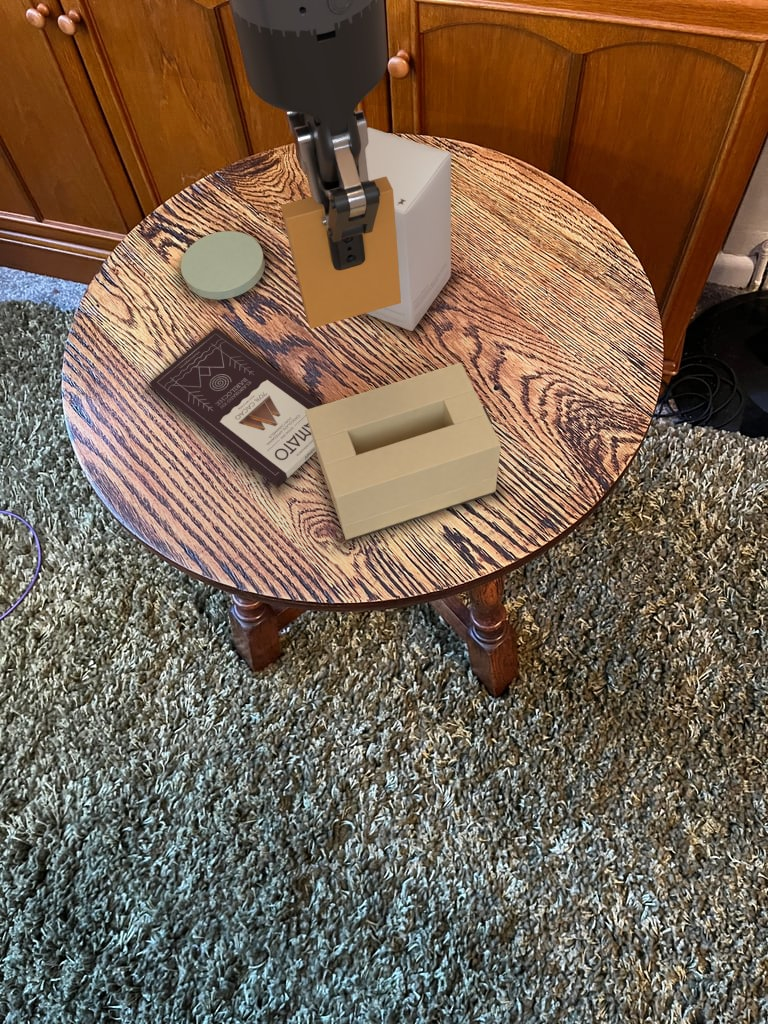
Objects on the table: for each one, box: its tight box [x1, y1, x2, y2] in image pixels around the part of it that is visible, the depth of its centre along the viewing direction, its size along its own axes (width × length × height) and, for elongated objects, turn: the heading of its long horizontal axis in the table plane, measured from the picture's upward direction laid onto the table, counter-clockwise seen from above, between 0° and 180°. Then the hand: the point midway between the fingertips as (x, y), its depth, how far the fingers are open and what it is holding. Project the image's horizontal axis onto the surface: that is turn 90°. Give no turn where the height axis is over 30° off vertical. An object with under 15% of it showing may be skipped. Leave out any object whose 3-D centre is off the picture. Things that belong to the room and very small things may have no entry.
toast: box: [280, 177, 401, 330], centre depth 52 cm, size 7×1×10 cm, turn 107°
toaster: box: [305, 362, 502, 543], centre depth 67 cm, size 15×9×8 cm, turn 108°
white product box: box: [365, 126, 452, 332], centre depth 74 cm, size 9×9×15 cm
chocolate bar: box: [149, 327, 324, 489], centre depth 75 cm, size 9×1×18 cm
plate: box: [180, 230, 266, 300], centre depth 84 cm, size 9×9×1 cm
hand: (345, 254), depth 52 cm, fingers closed on toast, 1 cm apart
